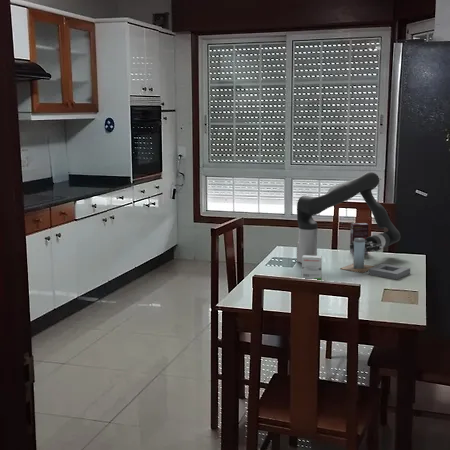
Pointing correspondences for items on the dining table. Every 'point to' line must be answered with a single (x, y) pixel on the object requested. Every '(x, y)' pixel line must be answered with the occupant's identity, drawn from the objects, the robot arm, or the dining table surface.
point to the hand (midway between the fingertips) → (358, 248)
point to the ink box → (312, 267)
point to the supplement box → (358, 232)
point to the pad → (351, 268)
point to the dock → (389, 271)
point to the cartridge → (359, 253)
